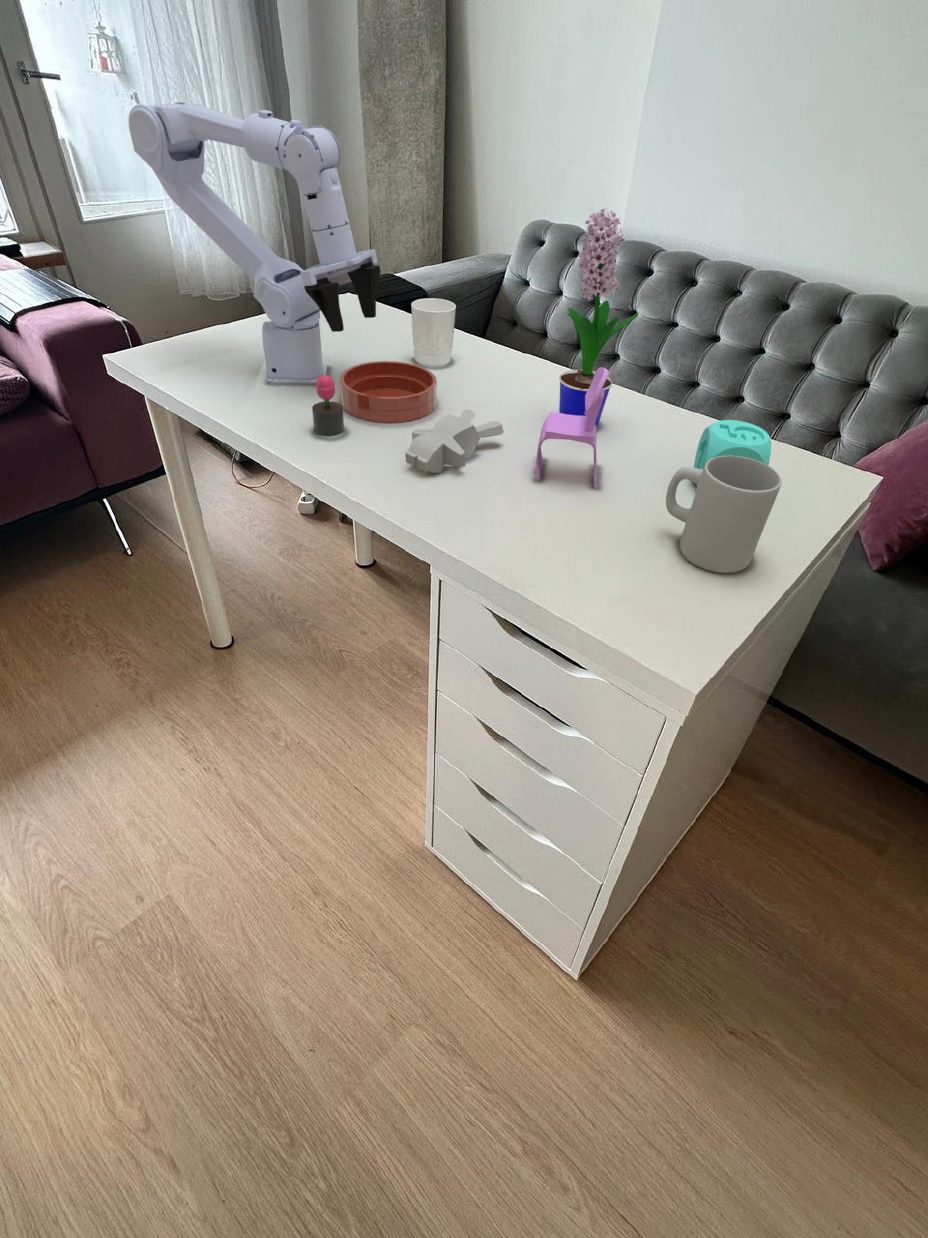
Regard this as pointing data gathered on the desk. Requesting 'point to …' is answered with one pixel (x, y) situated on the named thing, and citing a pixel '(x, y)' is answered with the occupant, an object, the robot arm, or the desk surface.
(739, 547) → the mug
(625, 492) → the desk surface
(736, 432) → the decorative dice
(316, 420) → the tulip
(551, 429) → the toy chair
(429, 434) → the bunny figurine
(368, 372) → the bowl
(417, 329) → the white cup
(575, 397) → the hyacinth
